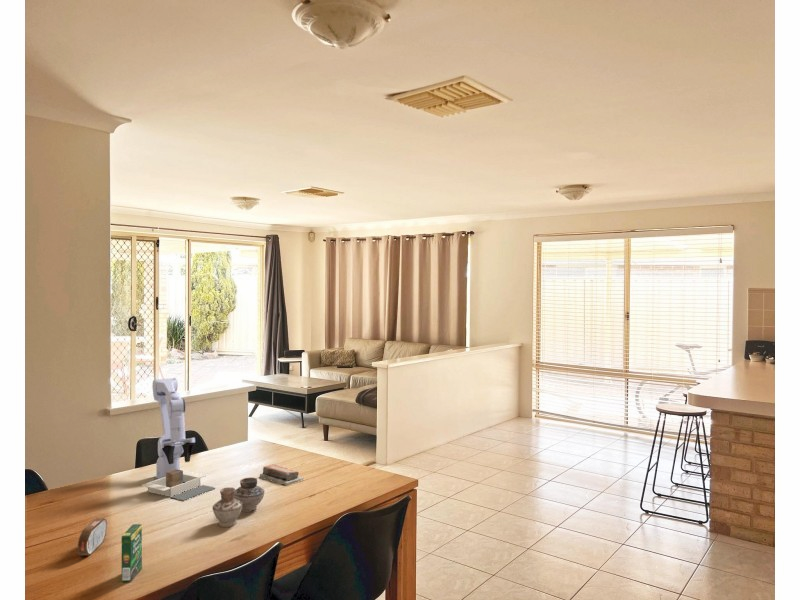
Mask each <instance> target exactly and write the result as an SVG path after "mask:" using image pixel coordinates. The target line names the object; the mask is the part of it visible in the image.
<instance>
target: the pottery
mask: <svg viewBox="0 0 800 600" xmlns="http://www.w3.org/2000/svg"><path fill="white" fill-rule="evenodd" d="M239 483H240V486H239V487H237V488H235V487H223V488H221V489H220V490H219V492H220V498H221V499H219V500H218V501H216V503H214V504H213V505H212V512H213V514H214V516H215V518H216V519H217V520H218V521H219V524H218V525H219V527H222V528H228V527H230V528H231V527H233V526H235V525H237V519H238V518H239V516H240V514H241V513H242V512H245V511H249V512H253V511H252V510H254V511H255V509H256V510H257V507H258V505H259V504H260V503H261V502H262V500H263V499H264V496H265V490H264V488H262V487H260V485H259V486H258V479H257V478H256V477H244V478H241V479H240V481H239Z"/></svg>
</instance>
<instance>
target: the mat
mask: <svg viewBox="0 0 800 600" xmlns="http://www.w3.org/2000/svg"><path fill="white" fill-rule="evenodd" d="M213 489H214V490H215V489H216V487H213V486H209V485H206V484H202V485H200V486H199V487H196V488H193V489H191V490H188V491H185V492H183V493H180V494H177V495H175V496H172V497H170V499H173V498H175V499H174V500H177V499H179V500H178V501H180V500H182V501H181V502H184V500H186V501H188V500H190V499H189V498H191V499H193V498H196V497H198V496H200V494H201V495H203V494H205V492H206V493H208V492H211V491H213ZM202 493H203V494H202ZM197 495H198V496H197ZM195 496H196V497H195ZM192 497H193V498H192ZM187 499H188V500H187Z"/></svg>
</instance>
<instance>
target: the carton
mask: <svg viewBox="0 0 800 600" xmlns="http://www.w3.org/2000/svg"><path fill="white" fill-rule="evenodd" d="M182 471H183V482H185V483H182V484H179V485H176V486H174V487H171V488H170V487H166V486H165V485H166V477H164V478H161V479H159V478H157V479H155V480H151V481H149V482H146V483H144V484H141V485H140V486H142V487H145V488H147V492H148V493H152V494H156V493H157V495H160V494H161V496H164V495H165V497H167V496H170V497H169V498H171V496H173V495H176V494H177V495H178V494H179V493H181V492H184V491H185V492H186V491H187V490H189V489H192V488H193V489H194V488H195V487H198V486H201V479H202V478H205V477H206V476H207V475H205V474H201V473H196V472H192V471H187V470H182Z"/></svg>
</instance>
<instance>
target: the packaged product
mask: <svg viewBox="0 0 800 600" xmlns="http://www.w3.org/2000/svg"><path fill="white" fill-rule="evenodd" d="M299 474H300V472H299V471H297V470H294V469H291V468H288V467H284V466H281V465H279V464H276V463H275V464H269V465H265V466H263V468H262V473H259V478H261V477H262V479H264V478H265V480H267V479H268V480H267V481H270V480H272V481H271V482H273V481H274V482H273V483H276V482H278V483H277V484H279V483H280V484H279V485H282V484H284V485H283V486H286V485H287V486H289V484H290V485H292V483H293V484H296V483H298V481H299V482H302V481H304V480H303V479H305V478H304V477H302V476H299ZM301 480H302V481H301ZM295 482H296V483H295Z"/></svg>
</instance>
